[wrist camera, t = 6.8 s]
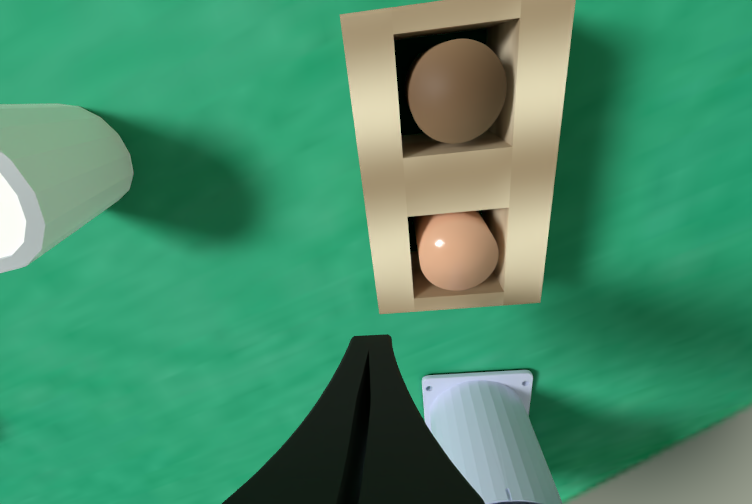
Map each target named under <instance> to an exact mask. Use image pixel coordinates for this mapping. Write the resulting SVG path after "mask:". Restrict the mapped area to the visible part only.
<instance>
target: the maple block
mask: <svg viewBox="0 0 752 504" xmlns="http://www.w3.org/2000/svg"><path fill="white" fill-rule="evenodd" d="M574 9H575V0H443V1H436V2H428V3H421V4H414V5H406V6H399V7H392V8H384V9H377V10H370V11H363V12H355V13H348V14H341V15H340V19H341V27H342V34H343V42H344V50H345V57H346V65H347V72H348V80H349V87H350V95H351V102H352V110H353V117H354V125H355V133H356V140H357V148H358V155H359V163H360V170H361V178H362V185H363V193H364V200H365V208H366V215H367V223H368V231H369V238H370V246H371V253H372V261H373V268H374V276H375V283H376V291H377V298H378V306H379V314H388V313H402V312H416V311H430V310H444V309H458V308H472V307H486V306H500V305H514V304H528V303H540V301H541V293H542V284H543V276H544V267H545V258H546V250H547V241H548V233H549V224H550V215H551V207H552V198H553V190H554V181H555V172H556V164H557V155H558V147H559V138H560V129H561V121H562V112H563V104H564V95H565V86H566V78H567V69H568V61H569V52H570V43H571V35H572V26H573V18H574ZM479 29H486V46H488V47H489V48H490V49H491V50H492V51H493V52H494V53H495V54H496V55H497V56H498V58H499V60H500V61H501V63H502V65H503V68H504V71H505V75H506V81H507V90H506V97H505V101H504V105H503V107H502V110H501V112H500V114H499V116H498V117H497V119H496V120H495V122H494V123H493V124H492V125H491V126H490V127H489V128H488V129H487V130H486V131H485V132H484V133H482V134H481V135H480V136H478V137H476V138H474V139H472V140H470V141H467V142H463V143H455V144H451V143H444V142H440V141H437V140H435V139H433V138H431V137H429V136H428V135H427V134H425V133H420V134H411V135H402V136H401V127H400V114H399V101H398V88H397V75H396V62H395V49H394V40H402V39H410V38H417V37H425V36H433V35H440V34H448V33H456V32H463V31H471V30H479ZM477 210H482V218H483V220H484V222H485V223H486V225H487V227H488V228H489V230H490V232H491V234H492V235H493V237H494V239H495V241H496V243H497V246H498V253H499V255H498V261H497V264H496V267H495V269H494V270H493V272H492V273H491V275H490V276H489V277H488V278H487V279H486V280H485V281H483V282H482V283H480V284H479V285H477V286H475V287H472V288H470V289H466V290H460V291H452V290H446V289H442V288H439V287H437V286H435V285H434V284H432V283H431V282H430V281H429V280H428V279H427V278H426V277H425V275H424V274H423V272H422V270H421V266H420V261H419V254H418V251H414V252H410V243H409V230H408V217H411V216H422V215H433V214H444V213H455V212H466V211H477Z"/></svg>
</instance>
